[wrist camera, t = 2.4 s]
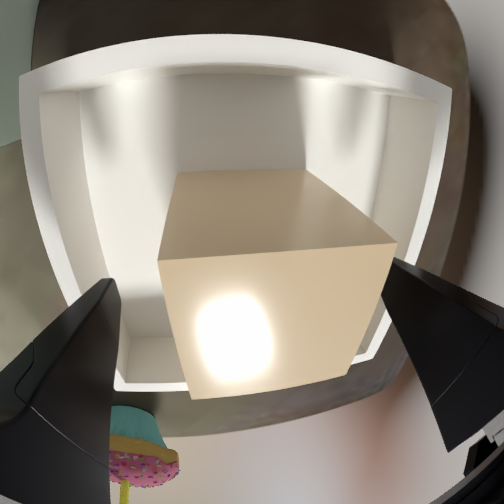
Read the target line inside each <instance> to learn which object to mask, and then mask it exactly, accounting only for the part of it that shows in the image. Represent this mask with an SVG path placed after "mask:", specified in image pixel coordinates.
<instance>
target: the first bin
mask: <svg viewBox="0 0 504 504" xmlns="http://www.w3.org/2000/svg"><path fill="white" fill-rule="evenodd" d="M451 97H452V89H451V88H449V87H447V86H445V85H443V84H441V83H439V82H437V81H435V80H433V79H430V78H428V77H426V76H424V75H421V74H419V73H416V72H414V71H411V70H409V69H406V68H404V67H401V66H398V65H396V64H393V63H390V62H387V61H384V60H381V59H378V58H375V57H371V56H368V55H365V54H361V53H357V52H354V51H350V50H346V49H342V48H338V47H333V46H328V45H324V44H319V43H313V42H307V41H301V40H295V39H287V38H279V37H270V36H258V35H240V34H198V35H181V36H169V37H160V38H152V39H145V40H138V41H132V42H127V43H121V44H117V45H112V46H107V47H103V48H99V49H95V50H91V51H87V52H84V53H80V54H77V55H74V56H70V57H67V58H64V59H61V60H58V61H55V62H53V63H50V64H47V65H45V66H42V67H39V68H37V69H35V70H32V71H30V72H27V73H25V74H23V75H21V76H19V113H20V127H21V138H22V147H23V154H24V161H25V167H26V173H27V178H28V184H29V188H30V193H31V198H32V202H33V206H34V210H35V214H36V218H37V221H38V225H39V228H40V232H41V235H42V238H43V241H44V245H45V248H46V251H47V254H48V256H49V259H50V262H51V265H52V268H53V270H54V273H55V275H56V278H57V281H58V283H59V285H60V288H61V290H62V293H63V295H64V297H65V300H66V302H67V304H68V306H70V305H71V304H73V303H74V302H75V301H76V300H77V299H78V298H79V297H80V296H82V295H83V294H84V293H85V292H86V291H87V290H89V289H90V288H91V287H92V286H93V285H94V284H96V283H97V282H98V281H99V280H100V279H102V278H113V279H114V280H115V282H116V285H117V288H118V291H119V294H120V297H121V304H122V305H121V319H120V336H119V349H118V357H117V364H116V371H115V379H114V389H115V390H116V391H136V392H158V391H187V390H189V389H188V386H187V383H186V379H185V376H184V373H183V369H182V366H181V362H180V359H179V355H178V351H177V348H176V344H175V340H174V336H173V332H172V328H171V324H170V320H169V316H168V311H167V307H166V302H165V298H164V293H163V288H162V284H161V279H160V273H159V268H158V263H157V259H158V254H159V249H160V244H161V239H162V234H163V230H164V225H165V221H166V217H167V212H168V208H169V204H170V200H171V196H172V192H173V188H174V184H175V181H176V177H177V173H182V172H197V171H215V170H242V169H306V170H308V171H309V172H310V173H312V174H313V175H314V176H316V177H317V178H319V179H320V180H321V181H323V182H324V183H325V184H327V185H328V186H329V187H331V188H332V189H333V190H335V191H336V192H337V193H339V194H340V195H341V196H342V197H344V198H345V199H346V200H348V201H349V202H350V203H351V204H353V205H354V206H355V207H356V208H358V209H359V210H360V211H361V212H363V213H364V214H365V215H366V216H367V217H369V218H370V219H371V220H372V221H373V222H375V223H376V224H377V225H378V226H379V227H380V228H382V229H383V230H384V231H385V232H386V233H387V234H389V235H390V236H391V237H392V238H393V239H394V240H395V241H396V242H398V244H397V248H396V251H395V254H394V257H396V258H398V259H400V260H403V261H405V262H407V263H409V264H412V265H414V266H415V263H416V260H417V258H418V255H419V252H420V249H421V246H422V243H423V240H424V237H425V233H426V230H427V227H428V223H429V220H430V216H431V213H432V209H433V205H434V201H435V197H436V193H437V189H438V185H439V180H440V176H441V171H442V166H443V160H444V155H445V149H446V142H447V135H448V128H449V119H450V110H451ZM391 321H392V320H391V318H390V316H389V314H388V312H387V309H386V307H385V305H384V302H383V300H382V297H381V295H380V298H379V300H378V303H377V306H376V308H375V311H374V313H373V316H372V318H371V321H370V323H369V325H368V328H367V330H366V332H365V335H364V337H363V339H362V342H361V344H360V346H359V348H358V350H357V352H356V355H355V357H354V359H353V361H352V363H351V364H355V363H359V362H362V361H366V360H369V359H373V357H374V355H375V353H376V352H377V350H378V348H379V346H380V344H381V342H382V340H383V338H384V336H385V334H386V332H387V330H388V328H389V326H390V323H391Z"/></svg>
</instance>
